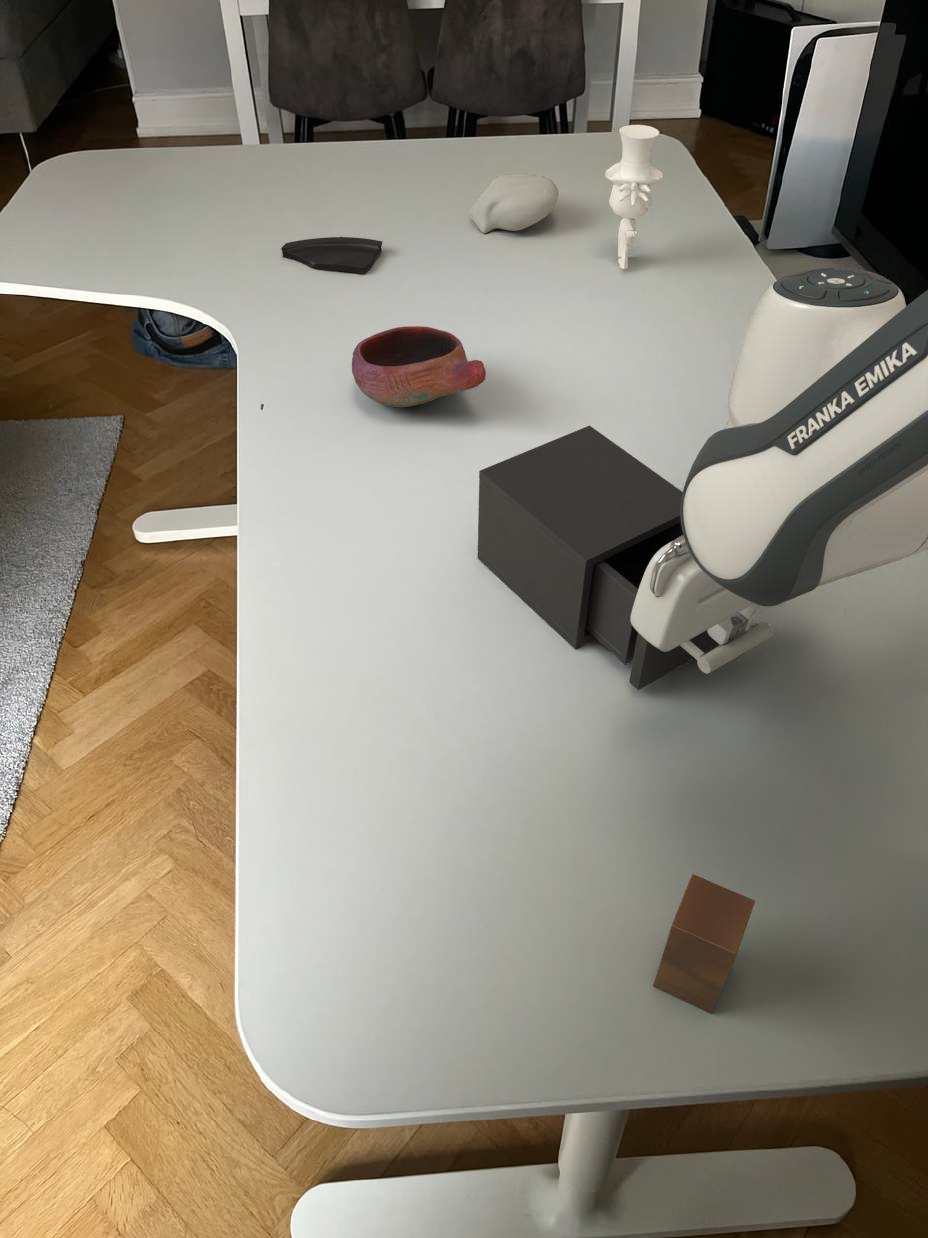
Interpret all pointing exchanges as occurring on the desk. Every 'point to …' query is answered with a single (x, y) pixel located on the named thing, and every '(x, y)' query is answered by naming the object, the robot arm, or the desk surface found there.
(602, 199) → the desk surface
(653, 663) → the drawer
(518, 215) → the shell shaped sculpture
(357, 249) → the curved wedge
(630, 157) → the figurine
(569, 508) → the drawer cabinet
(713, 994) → the walnut block
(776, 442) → the robot arm
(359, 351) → the bowl
